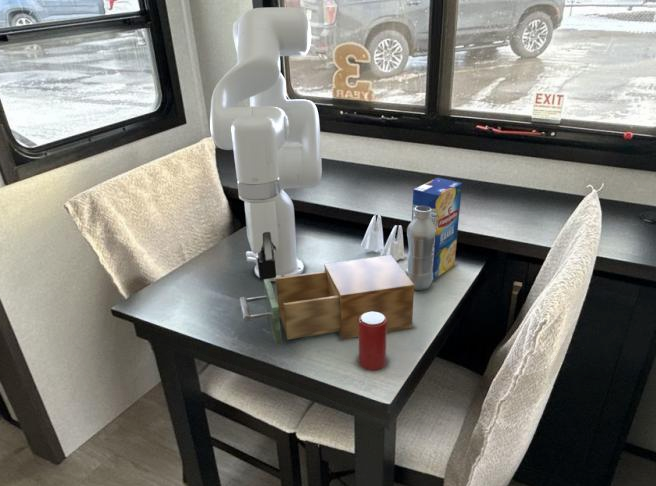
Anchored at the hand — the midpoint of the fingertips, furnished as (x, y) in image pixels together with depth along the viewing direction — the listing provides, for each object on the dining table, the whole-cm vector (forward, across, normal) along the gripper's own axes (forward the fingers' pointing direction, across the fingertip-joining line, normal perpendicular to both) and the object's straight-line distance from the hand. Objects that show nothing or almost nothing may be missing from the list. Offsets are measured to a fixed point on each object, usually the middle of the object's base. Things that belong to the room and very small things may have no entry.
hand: (267, 276), depth 109 cm
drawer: (+13, -2, +4) cm, 14 cm away
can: (+14, +15, +17) cm, 27 cm away
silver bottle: (+15, -11, +37) cm, 42 cm away
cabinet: (+14, -2, +21) cm, 26 cm away
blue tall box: (+15, -18, +44) cm, 50 cm away
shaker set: (+15, -30, +35) cm, 48 cm away
